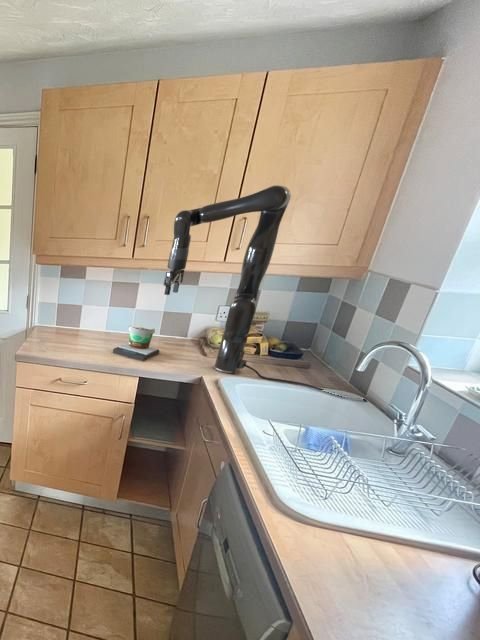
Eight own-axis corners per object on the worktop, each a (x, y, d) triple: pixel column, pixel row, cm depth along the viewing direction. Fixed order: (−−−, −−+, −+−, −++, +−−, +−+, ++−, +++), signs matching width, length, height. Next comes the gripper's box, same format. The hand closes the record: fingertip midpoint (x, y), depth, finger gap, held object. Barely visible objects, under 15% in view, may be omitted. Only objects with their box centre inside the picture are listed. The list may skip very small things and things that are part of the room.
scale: (158, 353, 206) (159, 348, 205) (142, 361, 196) (144, 355, 195) (129, 346, 217) (129, 341, 216) (112, 352, 207) (113, 347, 206)
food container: (124, 347, 206) (127, 328, 202) (126, 344, 211) (129, 325, 207) (150, 351, 201) (154, 331, 197) (151, 347, 206) (155, 328, 202)
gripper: (179, 259, 180) (172, 297, 187) (193, 257, 189) (185, 292, 196) (162, 258, 186) (156, 294, 192) (176, 255, 194) (169, 290, 201)
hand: (170, 293), depth 194 cm, fingers open, 8 cm apart
